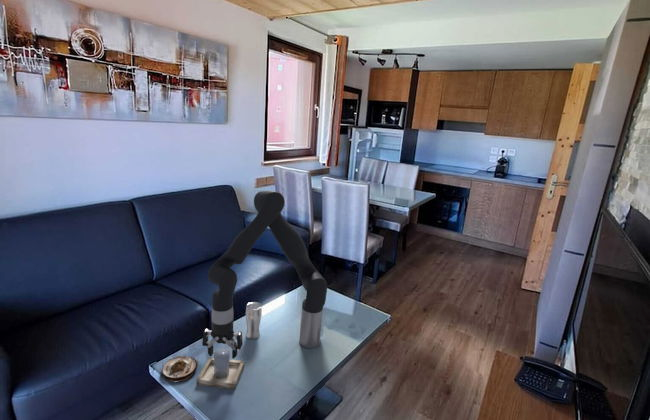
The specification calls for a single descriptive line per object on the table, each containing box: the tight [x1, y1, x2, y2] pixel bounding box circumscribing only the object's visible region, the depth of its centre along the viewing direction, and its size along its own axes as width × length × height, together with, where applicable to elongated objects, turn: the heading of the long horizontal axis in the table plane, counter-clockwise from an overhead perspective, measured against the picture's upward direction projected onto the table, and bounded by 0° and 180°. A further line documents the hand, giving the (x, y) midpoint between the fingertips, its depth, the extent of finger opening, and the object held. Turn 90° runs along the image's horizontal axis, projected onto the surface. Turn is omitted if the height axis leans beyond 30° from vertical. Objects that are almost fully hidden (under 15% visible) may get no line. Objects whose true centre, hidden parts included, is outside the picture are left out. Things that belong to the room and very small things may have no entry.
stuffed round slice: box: [161, 355, 199, 382], centre depth 127 cm, size 15×15×4 cm
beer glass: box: [245, 301, 263, 340], centre depth 150 cm, size 7×7×15 cm
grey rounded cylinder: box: [213, 347, 231, 379], centre depth 125 cm, size 6×6×9 cm
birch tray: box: [196, 356, 245, 390], centre depth 126 cm, size 14×12×2 cm
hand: (222, 356), depth 124 cm, fingers open, 8 cm apart
